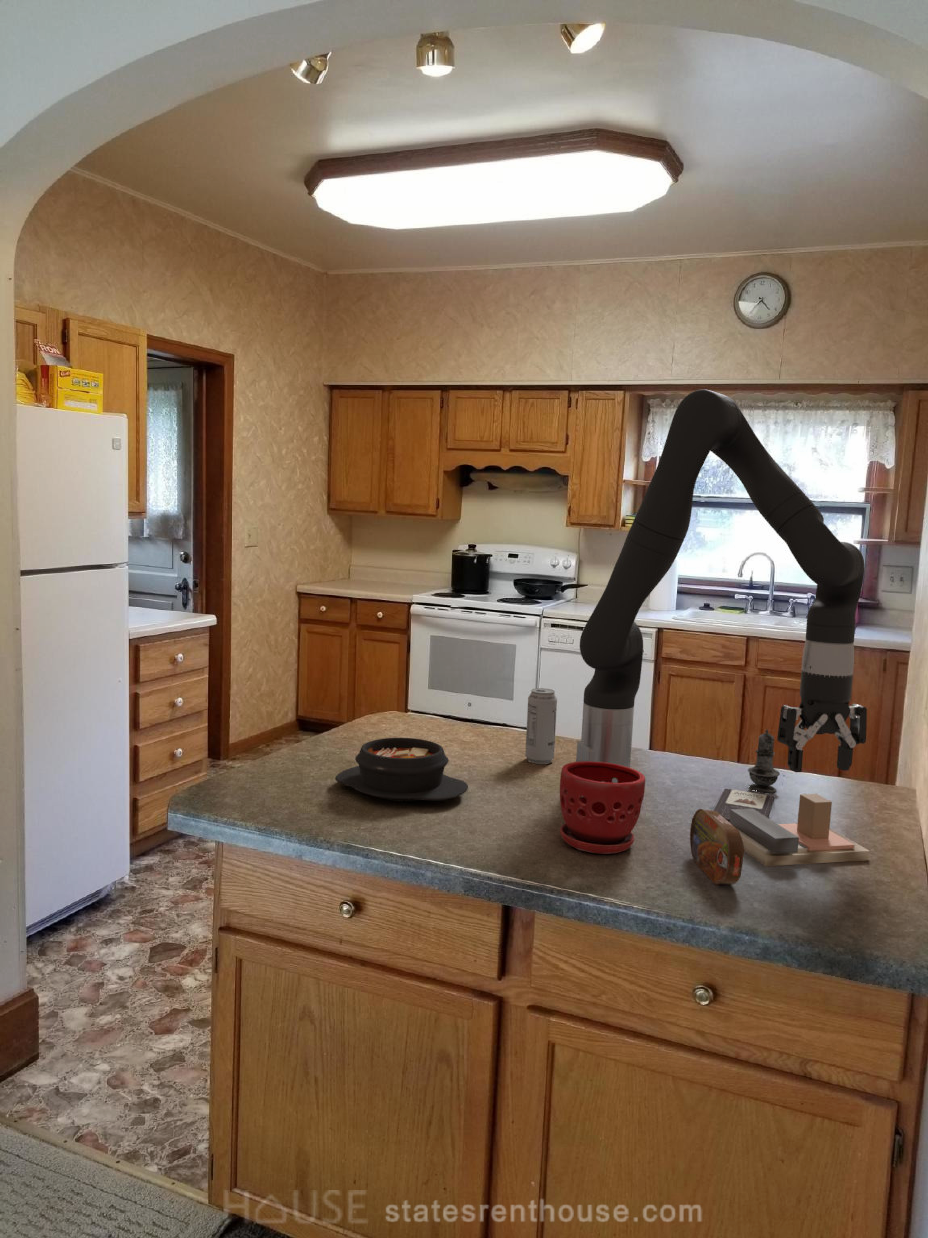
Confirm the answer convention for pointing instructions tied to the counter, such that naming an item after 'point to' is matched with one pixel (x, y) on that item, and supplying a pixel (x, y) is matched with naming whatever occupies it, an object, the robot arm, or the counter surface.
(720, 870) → the tin
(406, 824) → the counter surface
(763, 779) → the stone finial
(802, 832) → the tan block on plate
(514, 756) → the counter surface
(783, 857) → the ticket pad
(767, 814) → the chocolate bar
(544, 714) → the energy drink can
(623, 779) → the plant pot
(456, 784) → the casserole
